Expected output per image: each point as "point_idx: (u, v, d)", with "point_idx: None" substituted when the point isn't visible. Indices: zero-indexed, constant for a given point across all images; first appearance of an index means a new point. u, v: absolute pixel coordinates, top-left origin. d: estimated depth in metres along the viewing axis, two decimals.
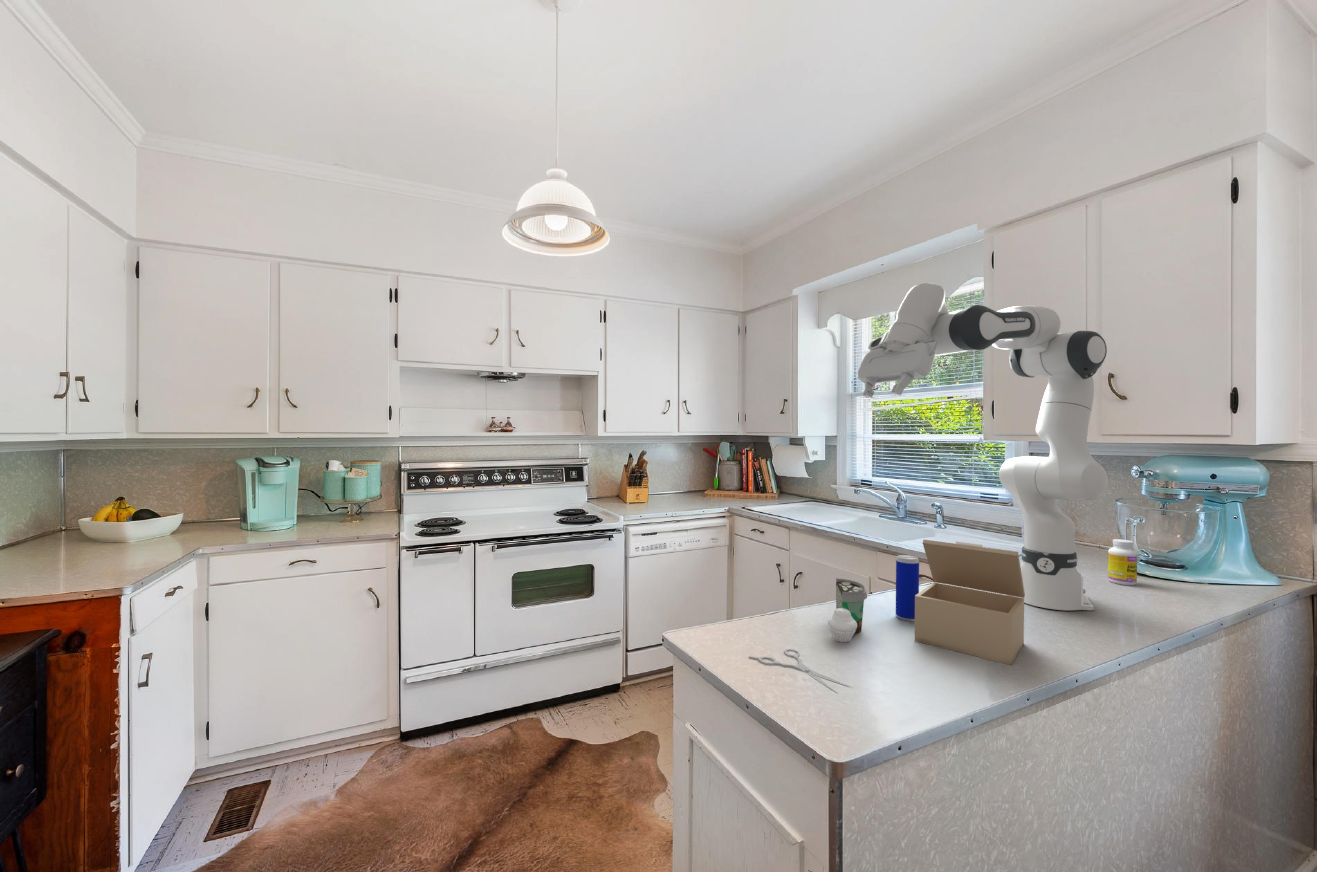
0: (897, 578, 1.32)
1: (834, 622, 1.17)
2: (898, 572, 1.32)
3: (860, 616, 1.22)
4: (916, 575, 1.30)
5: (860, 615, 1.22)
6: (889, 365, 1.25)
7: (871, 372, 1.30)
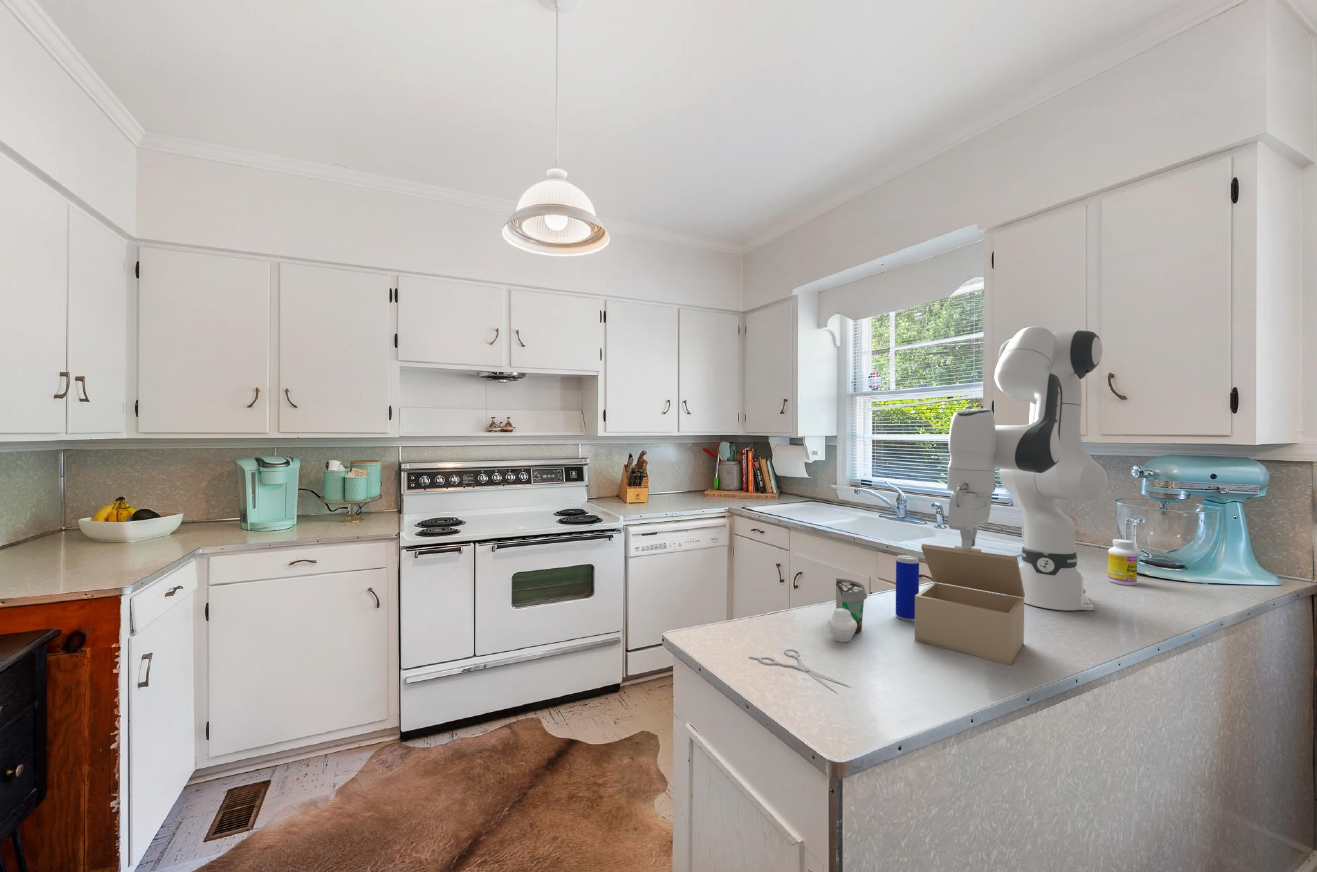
0: (897, 578, 1.32)
1: (834, 622, 1.17)
2: (898, 572, 1.32)
3: (860, 616, 1.22)
4: (916, 575, 1.30)
5: (860, 615, 1.22)
6: None
7: None
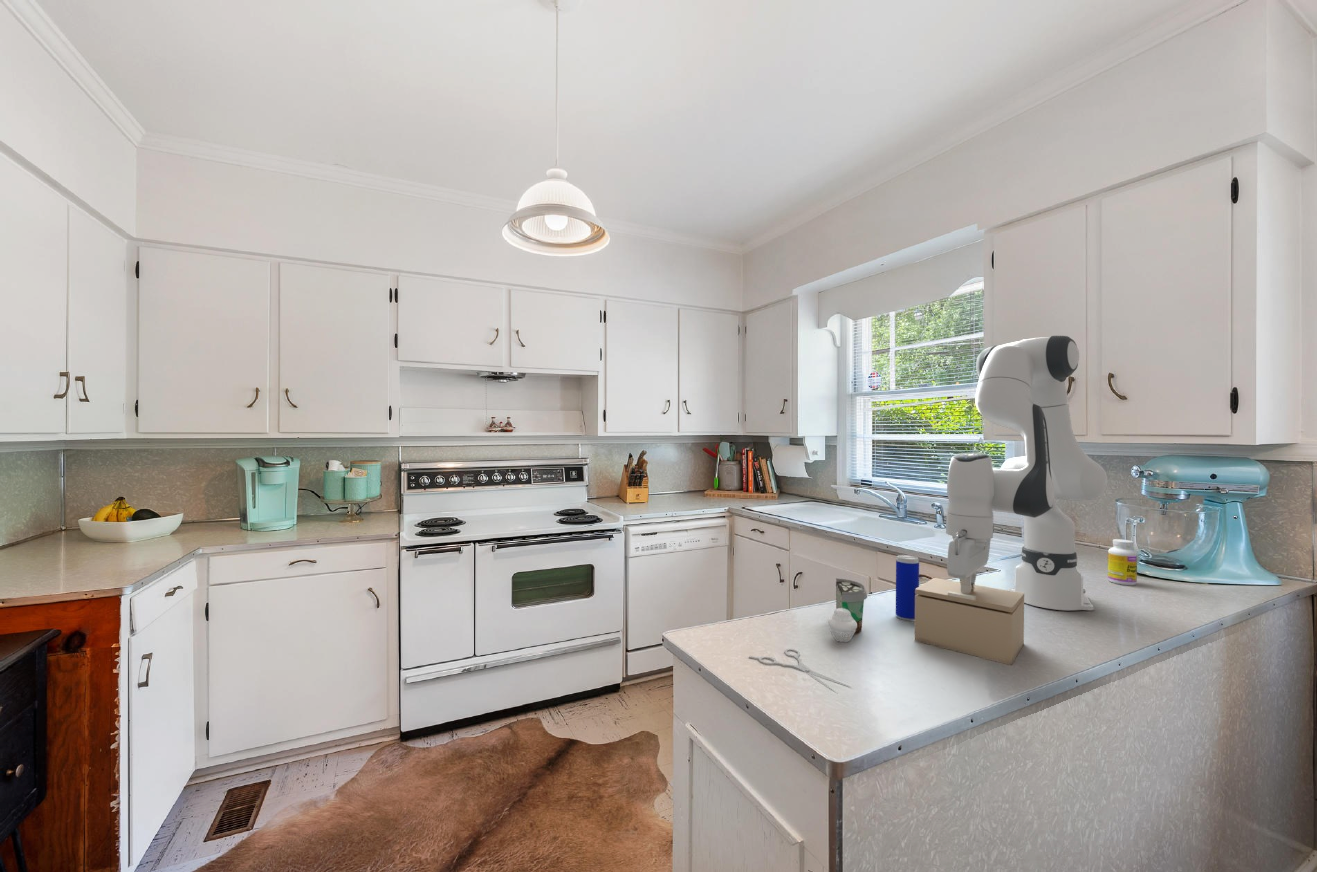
0: (897, 578, 1.32)
1: (834, 622, 1.17)
2: (898, 572, 1.32)
3: (860, 616, 1.22)
4: (916, 575, 1.30)
5: (860, 615, 1.22)
6: None
7: None
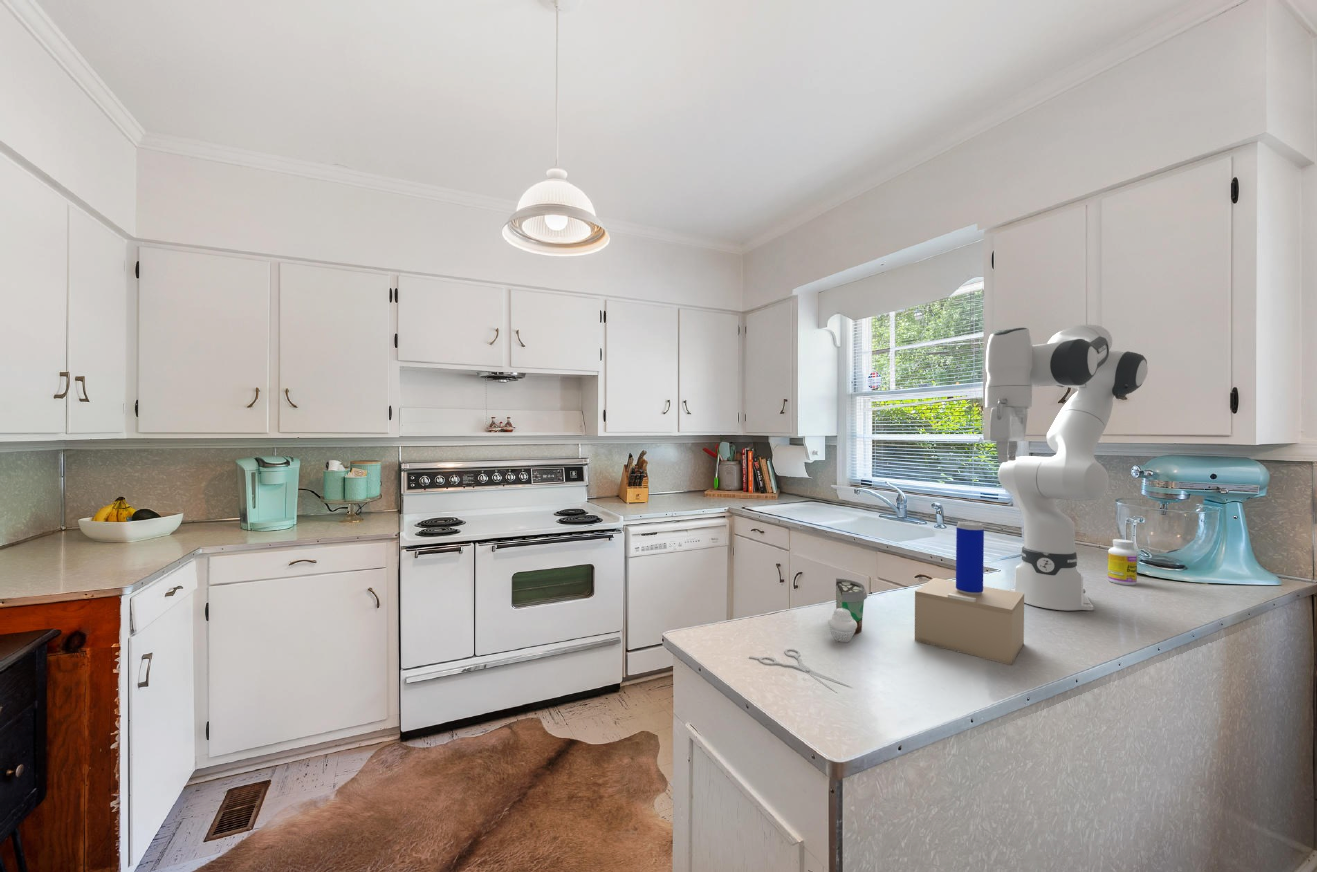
0: (958, 547, 1.17)
1: (834, 622, 1.17)
2: (960, 540, 1.16)
3: (860, 616, 1.22)
4: (981, 543, 1.15)
5: (860, 615, 1.22)
6: None
7: None
